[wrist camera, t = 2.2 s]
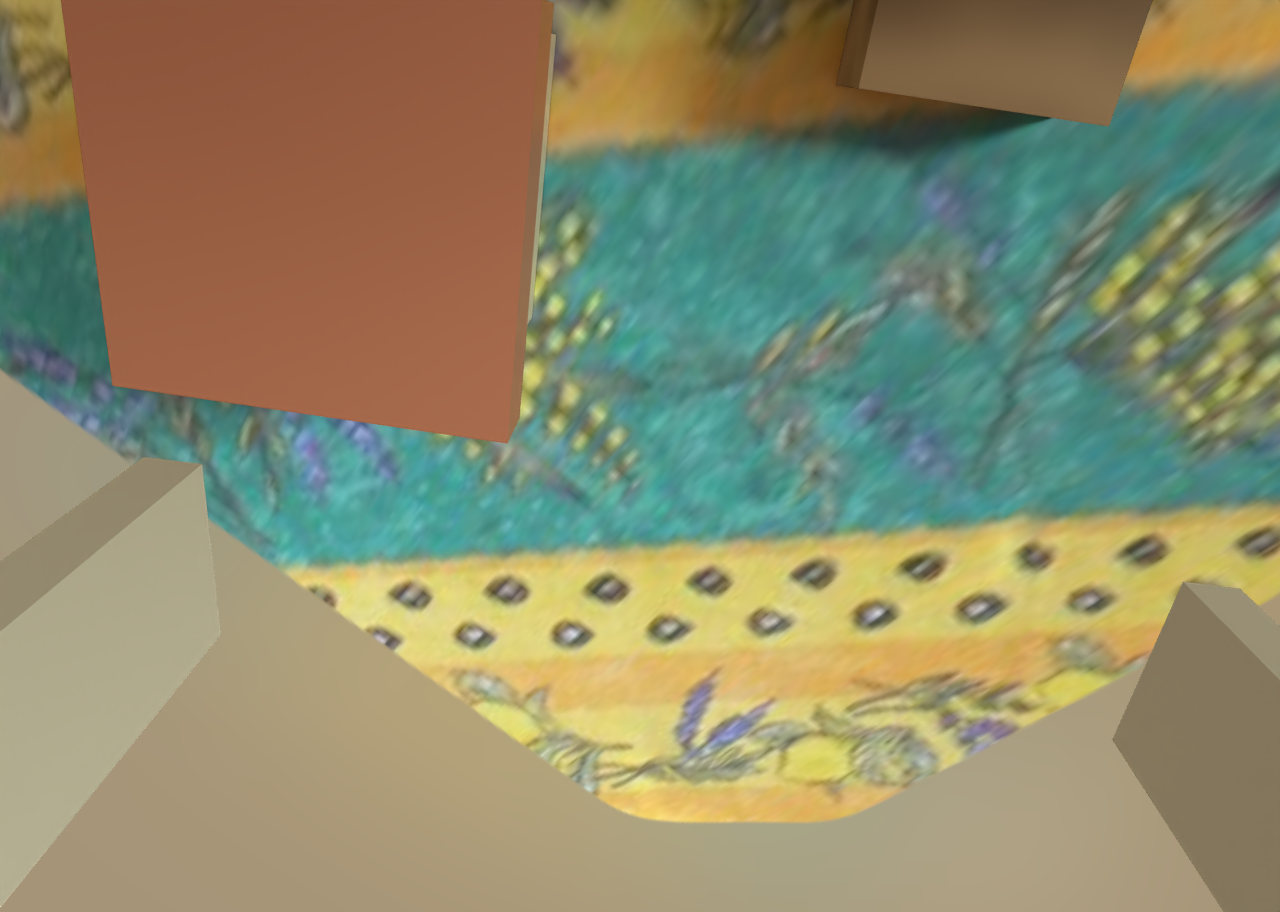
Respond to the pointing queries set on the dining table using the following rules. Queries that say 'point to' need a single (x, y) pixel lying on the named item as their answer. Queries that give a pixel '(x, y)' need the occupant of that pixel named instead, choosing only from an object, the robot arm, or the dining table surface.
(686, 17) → the dining table surface
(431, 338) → the lid
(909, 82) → the wooden block
